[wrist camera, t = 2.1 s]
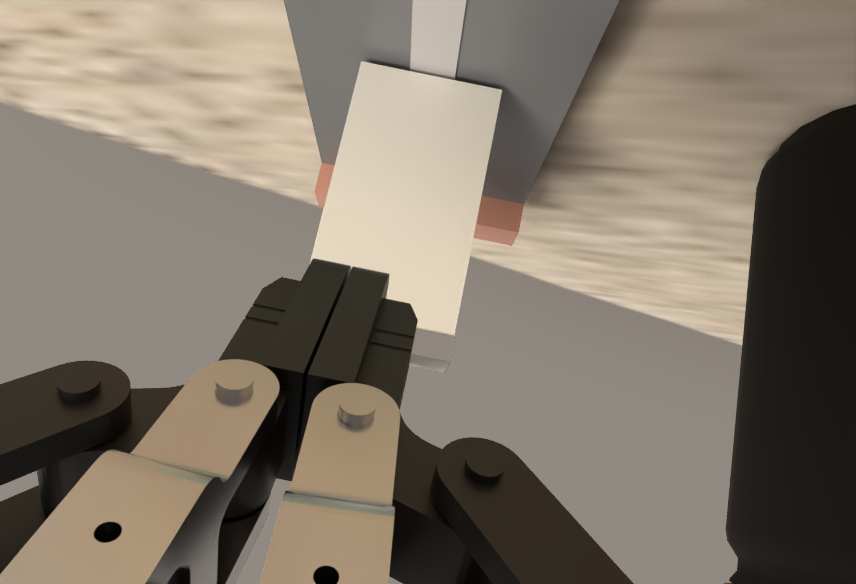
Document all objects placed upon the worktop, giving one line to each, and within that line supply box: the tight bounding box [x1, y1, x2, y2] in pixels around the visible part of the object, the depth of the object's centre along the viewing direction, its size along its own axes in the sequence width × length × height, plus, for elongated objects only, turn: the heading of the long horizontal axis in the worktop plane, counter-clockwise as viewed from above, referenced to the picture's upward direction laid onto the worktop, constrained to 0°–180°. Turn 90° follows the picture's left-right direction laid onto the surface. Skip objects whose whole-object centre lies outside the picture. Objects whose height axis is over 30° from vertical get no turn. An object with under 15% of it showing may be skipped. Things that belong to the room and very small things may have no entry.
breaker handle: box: [310, 61, 502, 372], centre depth 25 cm, size 2×5×10 cm, turn 88°
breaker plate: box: [284, 0, 619, 246], centre depth 26 cm, size 22×10×4 cm, turn 178°
